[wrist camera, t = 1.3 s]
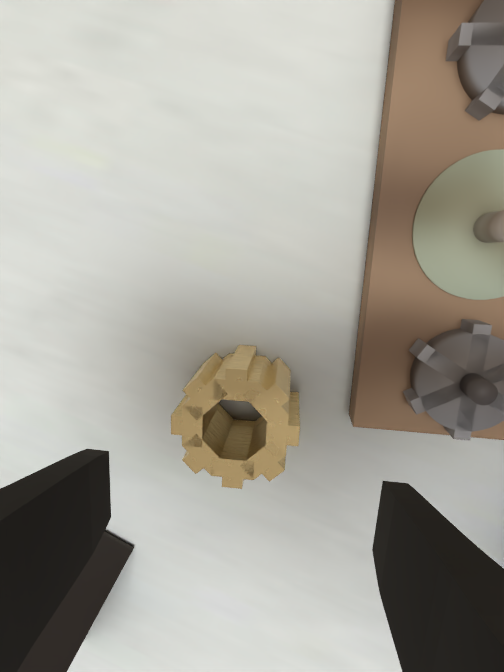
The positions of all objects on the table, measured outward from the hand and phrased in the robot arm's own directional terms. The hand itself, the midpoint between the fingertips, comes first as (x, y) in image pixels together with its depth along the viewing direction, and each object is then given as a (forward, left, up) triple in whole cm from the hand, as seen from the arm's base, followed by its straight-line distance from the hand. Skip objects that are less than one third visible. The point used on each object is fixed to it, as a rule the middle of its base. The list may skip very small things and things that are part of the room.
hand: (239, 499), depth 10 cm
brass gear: (-1, +1, -10) cm, 11 cm away
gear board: (+8, -9, -10) cm, 16 cm away
